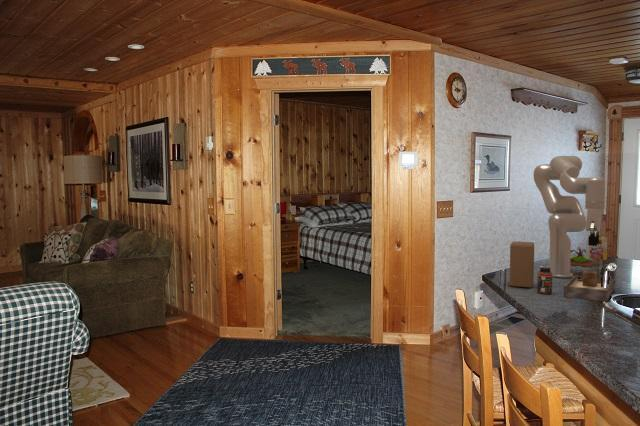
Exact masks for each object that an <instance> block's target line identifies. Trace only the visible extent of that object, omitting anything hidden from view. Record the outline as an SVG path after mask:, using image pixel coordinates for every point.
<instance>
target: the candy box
mask: <svg viewBox="0 0 640 426" xmlns="http://www.w3.org/2000/svg"><path fill="white" fill-rule="evenodd" d="M588 247H589V248H588V250H589V251H588V256H590V257H588V259H595V260H599V261H600V260H601V261H606V260H607V259H608V236H600V235H599V243H597V245H596V246H590V245H588Z"/></svg>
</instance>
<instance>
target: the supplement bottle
mask: <svg viewBox="0 0 640 426" xmlns="http://www.w3.org/2000/svg"><path fill="white" fill-rule="evenodd" d="M539 268H540V270H539V271H538V272H537V277H536V278H537V280H536V282H537V286H536V292H537V293H538V294H542V295H550V294H552V292H553V277H552V273H551V272H550V267H547V266H545V267H540V266H539Z"/></svg>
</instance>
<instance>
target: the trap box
mask: <svg viewBox="0 0 640 426" xmlns="http://www.w3.org/2000/svg"><path fill="white" fill-rule="evenodd" d="M601 281H602V280H597V286H596V287H589V286H583V278H577V275H574V274H573V277H570V278H569V280H568V281H567V282H566V283H565V284H564V285H563V297H565V298H571V299H572V298H573V299H580V300H581V299H582V300H588V301H589V300H590V301H597V302H606V303H607V302H609V299H610V297H611V294H612V292H613V291H614V281H615V279H614V278H610V279H609V281H608V282H609V284H608V285H607V287H606V288H603V287H601Z"/></svg>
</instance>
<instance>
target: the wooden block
mask: <svg viewBox="0 0 640 426" xmlns="http://www.w3.org/2000/svg"><path fill="white" fill-rule="evenodd" d="M509 249H510V250H509V286H511V287H517V288H518V287H519V288H527V289H528V288H529V289H531V288H533V287H534V279H535V271H534V270H535V269H534V268H535V243H534V242H532V241H516V240H515V241H511V243H510V247H509Z"/></svg>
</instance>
